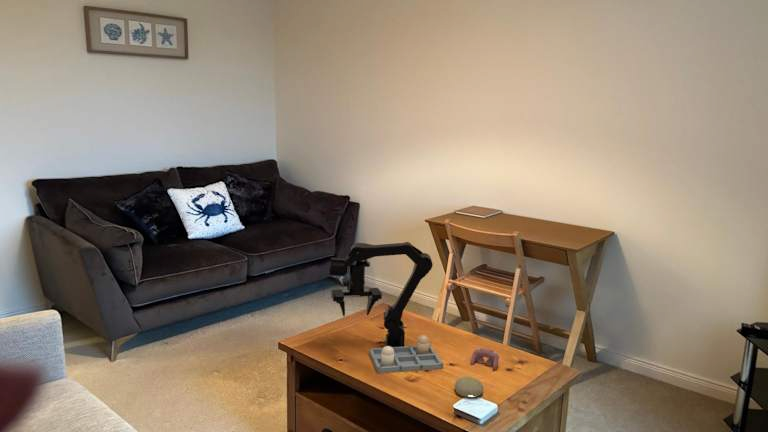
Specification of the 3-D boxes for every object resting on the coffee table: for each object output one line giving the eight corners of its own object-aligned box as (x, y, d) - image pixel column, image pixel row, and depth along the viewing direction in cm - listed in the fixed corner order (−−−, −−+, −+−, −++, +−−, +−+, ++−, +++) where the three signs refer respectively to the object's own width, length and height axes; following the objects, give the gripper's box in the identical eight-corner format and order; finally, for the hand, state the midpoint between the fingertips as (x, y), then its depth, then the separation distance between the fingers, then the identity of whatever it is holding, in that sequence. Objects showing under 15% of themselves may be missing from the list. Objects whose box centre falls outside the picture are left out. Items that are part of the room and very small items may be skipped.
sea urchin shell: (478, 397, 189) (463, 376, 191) (461, 408, 193) (447, 387, 195) (489, 386, 197) (475, 366, 198) (473, 396, 201) (459, 376, 202)
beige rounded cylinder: (426, 351, 224) (427, 332, 223) (430, 357, 220) (431, 337, 218) (414, 352, 223) (415, 333, 222) (418, 357, 219) (419, 338, 217)
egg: (392, 363, 214) (392, 343, 212) (395, 369, 209) (395, 348, 208) (379, 364, 213) (380, 344, 211) (382, 370, 208) (383, 349, 207)
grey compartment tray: (430, 350, 227) (430, 344, 226) (443, 369, 211) (443, 363, 211) (369, 354, 222) (369, 348, 221) (377, 374, 206) (378, 368, 206)
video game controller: (497, 371, 215) (501, 352, 216) (495, 370, 211) (499, 351, 212) (471, 365, 219) (474, 346, 220) (468, 365, 215) (472, 345, 216)
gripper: (375, 269, 233) (374, 306, 236) (329, 271, 228) (328, 309, 231) (383, 278, 222) (381, 317, 226) (334, 280, 218) (333, 320, 221)
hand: (355, 315), depth 226 cm, fingers open, 9 cm apart
